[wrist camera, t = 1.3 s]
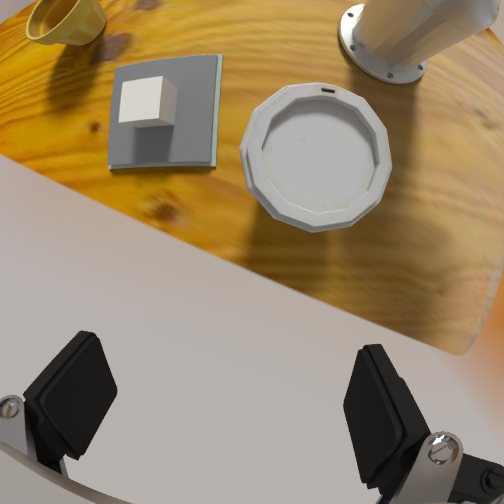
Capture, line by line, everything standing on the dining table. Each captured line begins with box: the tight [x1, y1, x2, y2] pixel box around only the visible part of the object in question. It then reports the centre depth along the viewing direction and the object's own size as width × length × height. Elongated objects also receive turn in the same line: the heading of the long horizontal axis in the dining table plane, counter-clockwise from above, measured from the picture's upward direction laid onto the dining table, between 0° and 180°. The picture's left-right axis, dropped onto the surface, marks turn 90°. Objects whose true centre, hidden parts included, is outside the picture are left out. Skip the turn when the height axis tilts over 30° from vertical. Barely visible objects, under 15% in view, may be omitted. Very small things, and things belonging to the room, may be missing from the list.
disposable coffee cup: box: [239, 82, 393, 233], centre depth 23 cm, size 11×11×15 cm
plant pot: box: [26, 0, 107, 46], centre depth 19 cm, size 10×10×10 cm
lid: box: [108, 55, 218, 165], centre depth 25 cm, size 13×13×6 cm
